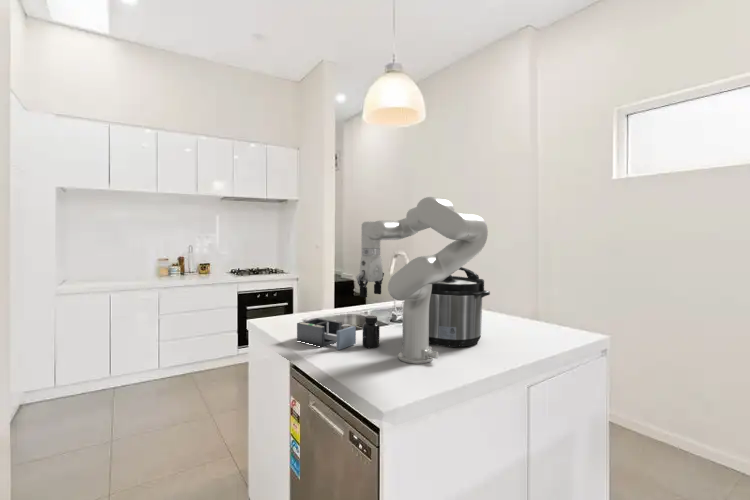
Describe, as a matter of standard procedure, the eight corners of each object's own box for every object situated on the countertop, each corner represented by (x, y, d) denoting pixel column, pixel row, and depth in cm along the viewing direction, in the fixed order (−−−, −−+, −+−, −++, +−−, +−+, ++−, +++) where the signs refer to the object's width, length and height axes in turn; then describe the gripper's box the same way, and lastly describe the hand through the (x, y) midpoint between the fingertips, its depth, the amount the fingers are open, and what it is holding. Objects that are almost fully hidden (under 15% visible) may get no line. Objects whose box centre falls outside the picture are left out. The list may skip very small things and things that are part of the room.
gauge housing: (341, 341, 163) (341, 321, 163) (322, 347, 154) (321, 326, 153) (317, 336, 171) (317, 317, 171) (297, 342, 162) (297, 322, 161)
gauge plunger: (355, 343, 158) (355, 322, 157) (336, 350, 148) (336, 328, 148) (331, 338, 165) (331, 318, 165) (311, 345, 155) (311, 323, 155)
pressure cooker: (499, 341, 164) (500, 266, 162) (456, 354, 146) (457, 270, 144) (444, 328, 187) (445, 262, 186) (401, 337, 169) (401, 265, 168)
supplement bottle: (359, 347, 154) (359, 317, 154) (367, 343, 160) (367, 314, 160) (374, 349, 151) (374, 319, 151) (382, 345, 157) (382, 316, 157)
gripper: (365, 253, 145) (365, 299, 146) (390, 252, 159) (390, 293, 160) (349, 253, 149) (349, 297, 150) (375, 251, 164) (375, 292, 164)
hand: (370, 295), depth 155 cm, fingers open, 9 cm apart
